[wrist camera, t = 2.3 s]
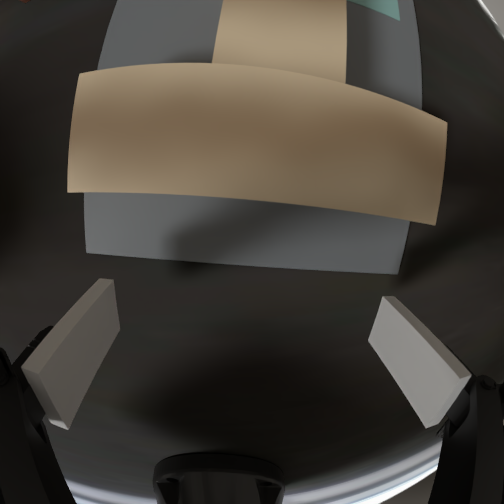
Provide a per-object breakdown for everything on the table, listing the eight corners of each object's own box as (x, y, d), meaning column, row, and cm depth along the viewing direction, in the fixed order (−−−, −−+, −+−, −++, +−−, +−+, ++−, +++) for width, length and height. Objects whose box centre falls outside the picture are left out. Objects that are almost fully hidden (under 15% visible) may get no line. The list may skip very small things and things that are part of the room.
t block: (392, 209, 14) (435, 225, 11) (106, 183, 13) (67, 192, 9) (397, 1, 10) (428, -22, 6) (152, -36, 8) (137, -70, 4)
